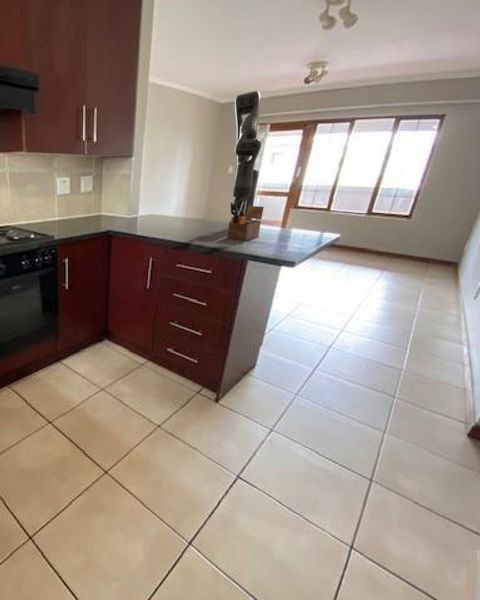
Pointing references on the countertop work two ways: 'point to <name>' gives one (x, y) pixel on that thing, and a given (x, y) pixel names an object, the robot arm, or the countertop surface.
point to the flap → (254, 212)
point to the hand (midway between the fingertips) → (237, 222)
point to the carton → (244, 230)
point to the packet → (239, 220)
